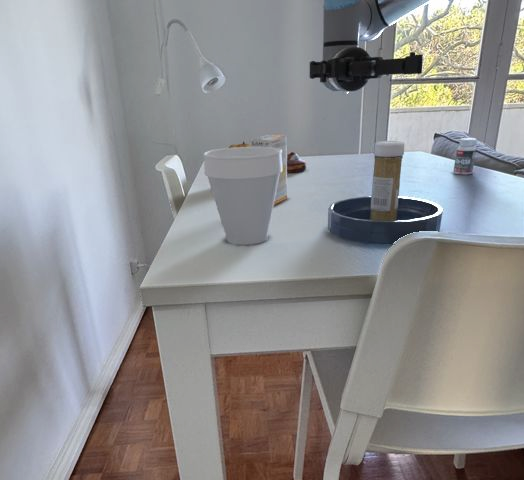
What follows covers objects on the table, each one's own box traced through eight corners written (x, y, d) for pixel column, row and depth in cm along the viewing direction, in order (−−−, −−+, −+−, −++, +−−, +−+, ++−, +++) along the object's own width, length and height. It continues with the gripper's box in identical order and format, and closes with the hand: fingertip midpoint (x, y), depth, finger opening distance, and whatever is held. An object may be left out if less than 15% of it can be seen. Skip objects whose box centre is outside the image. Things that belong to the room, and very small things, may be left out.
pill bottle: (450, 174, 124) (456, 139, 120) (455, 171, 128) (461, 137, 123) (469, 175, 122) (475, 140, 118) (474, 172, 125) (480, 138, 121)
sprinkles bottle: (401, 228, 79) (411, 141, 72) (382, 233, 77) (391, 144, 70) (381, 223, 82) (388, 139, 76) (362, 227, 80) (368, 142, 74)
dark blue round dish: (416, 215, 88) (418, 193, 86) (457, 244, 72) (461, 218, 70) (319, 220, 88) (320, 198, 86) (340, 250, 72) (341, 224, 70)
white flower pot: (288, 247, 74) (287, 154, 67) (210, 252, 73) (201, 158, 67) (279, 227, 85) (277, 145, 78) (211, 230, 84) (203, 148, 77)
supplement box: (268, 197, 107) (266, 134, 100) (288, 198, 105) (287, 134, 99) (252, 205, 101) (248, 138, 94) (272, 207, 99) (270, 139, 92)
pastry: (290, 168, 143) (289, 150, 140) (311, 169, 139) (312, 151, 136) (275, 172, 137) (275, 153, 134) (298, 173, 133) (298, 154, 131)
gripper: (408, 88, 97) (450, 88, 79) (288, 94, 96) (302, 95, 78) (412, 45, 93) (457, 34, 75) (287, 50, 93) (302, 41, 74)
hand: (378, 65), depth 76 cm, fingers open, 13 cm apart
